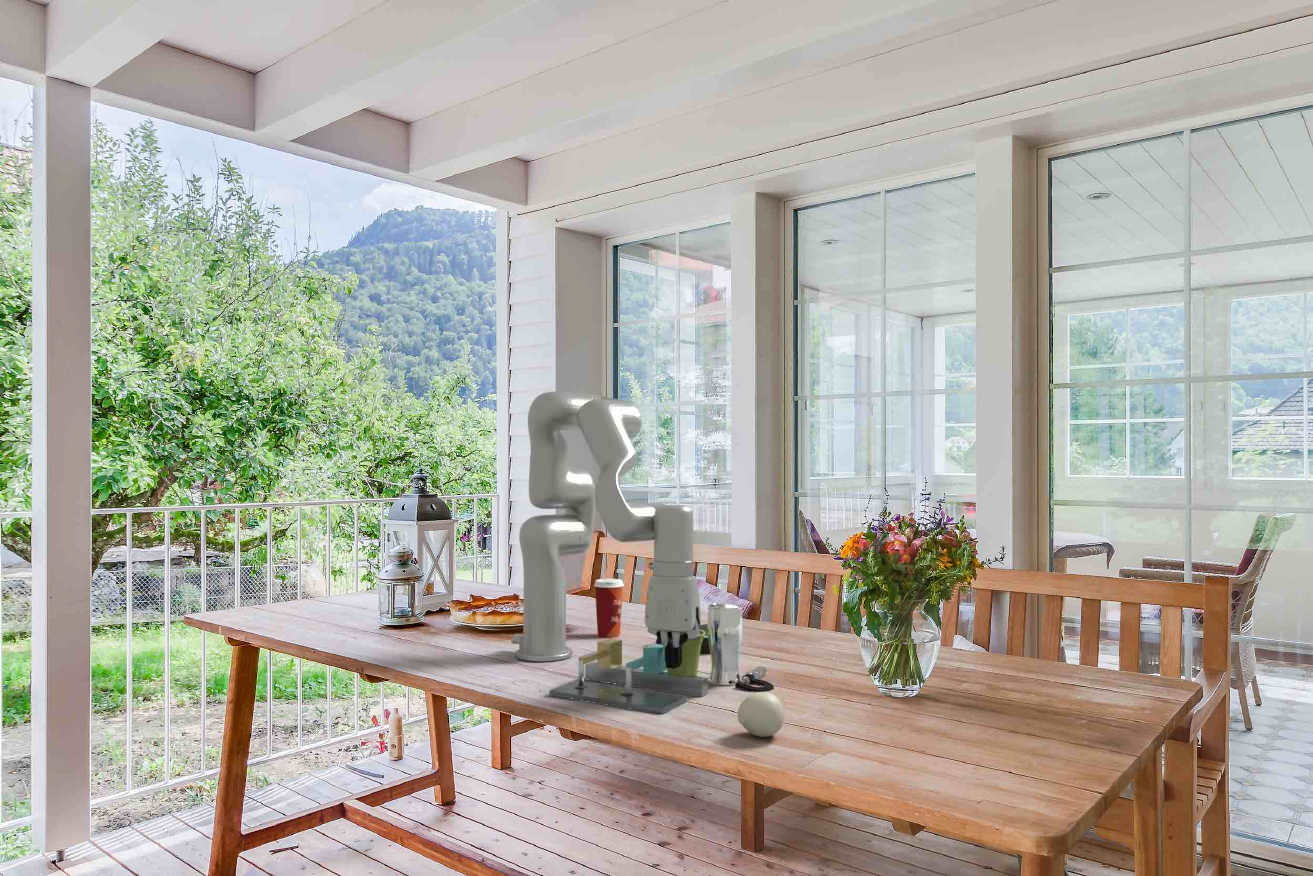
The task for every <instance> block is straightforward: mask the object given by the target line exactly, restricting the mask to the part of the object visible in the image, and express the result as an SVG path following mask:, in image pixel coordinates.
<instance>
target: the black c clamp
mask: <svg viewBox="0 0 1313 876" xmlns="http://www.w3.org/2000/svg"><path fill="white" fill-rule="evenodd" d="M766 673H767V669H766V667H765V666H757V667H755V668H754V669H753V670H751V671H746V672H745V674H744V675H743V676H742V677H741V680H740V681H739V682H738V683H736V684H735V685H734V687H735V689H741V690H744V691H747V692H750V691H753V692H752V693H756V692H765V691H766V692H771V691H773V690H774V689H775V687H774V685H773V684H772V683H771V682H768V681H766V680H764V679H761V678H762V677H764V676H765V675H766ZM760 677H761V678H760ZM745 683H748V684H745ZM751 684H754V685H757V686H754V685H751ZM760 685H762V686H760ZM763 686H764V687H763Z"/></svg>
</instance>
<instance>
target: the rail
mask: <svg viewBox="0 0 1313 876" xmlns="http://www.w3.org/2000/svg"><path fill="white" fill-rule="evenodd" d="M584 673H585V674H584V680H585V679H588V680H587V681H591V680H595V681H594V682H598V681H601V682H600V683H605V682H609V683H608V684H611V683H616V684H615V685H618V684H620V685H619V686H625V685H626V665H625V666H624V665H620V666H617V667H615V668H612V669H604V668H597V662H596V661H592V662H589V663H586V664H584ZM639 687H640V688H639ZM631 688H639V689H644V690H651V691H659V690H660V691H659V692H665V693H672V692H673V693H672V694H679V693H680V694H679V695H685V696H687V695H688V696H692V697H693V696H695V697H699V696H700V697H701V698H703V697H705V696H706V695H709V678H708V677H705V676H698V675H696V676H691V675H684V674H677V673H669V672H667V671H663V672H661V673H658V674H652V673H645V672H643V668H638V669H635V670H633V671H631Z"/></svg>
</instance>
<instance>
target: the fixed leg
mask: <svg viewBox="0 0 1313 876" xmlns="http://www.w3.org/2000/svg"><path fill="white" fill-rule="evenodd" d="M596 647H597V648H596V649H597V650H595V651H593V652H590V653H587V654H584V655H581V656H578V671H577V672H578V673H577V674H578V677H577V680H578V686H584V681H585V674H584V673H585V664H588V663H591V662H596V663H597V668H604V669H612V668H615V667H617V666H623V640H622V639H615V638H605V639H604V640H601V641H597V644H596Z"/></svg>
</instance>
